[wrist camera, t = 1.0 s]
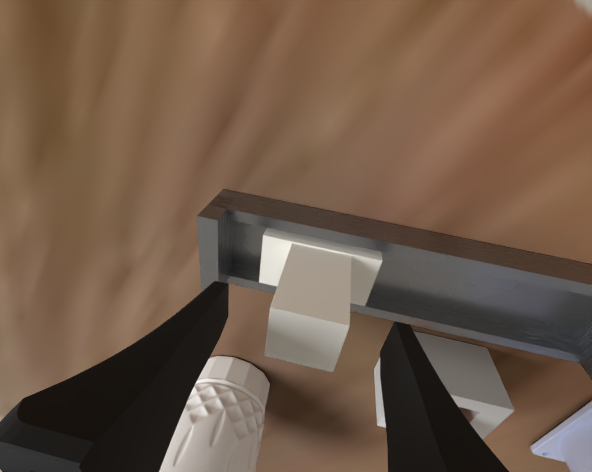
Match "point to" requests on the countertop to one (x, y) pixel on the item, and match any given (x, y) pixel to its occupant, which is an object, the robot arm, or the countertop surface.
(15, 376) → the countertop surface
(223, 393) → the white cup
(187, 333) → the robot arm
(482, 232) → the countertop surface
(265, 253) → the carriage
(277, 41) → the countertop surface
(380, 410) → the white hollow block
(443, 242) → the rail
